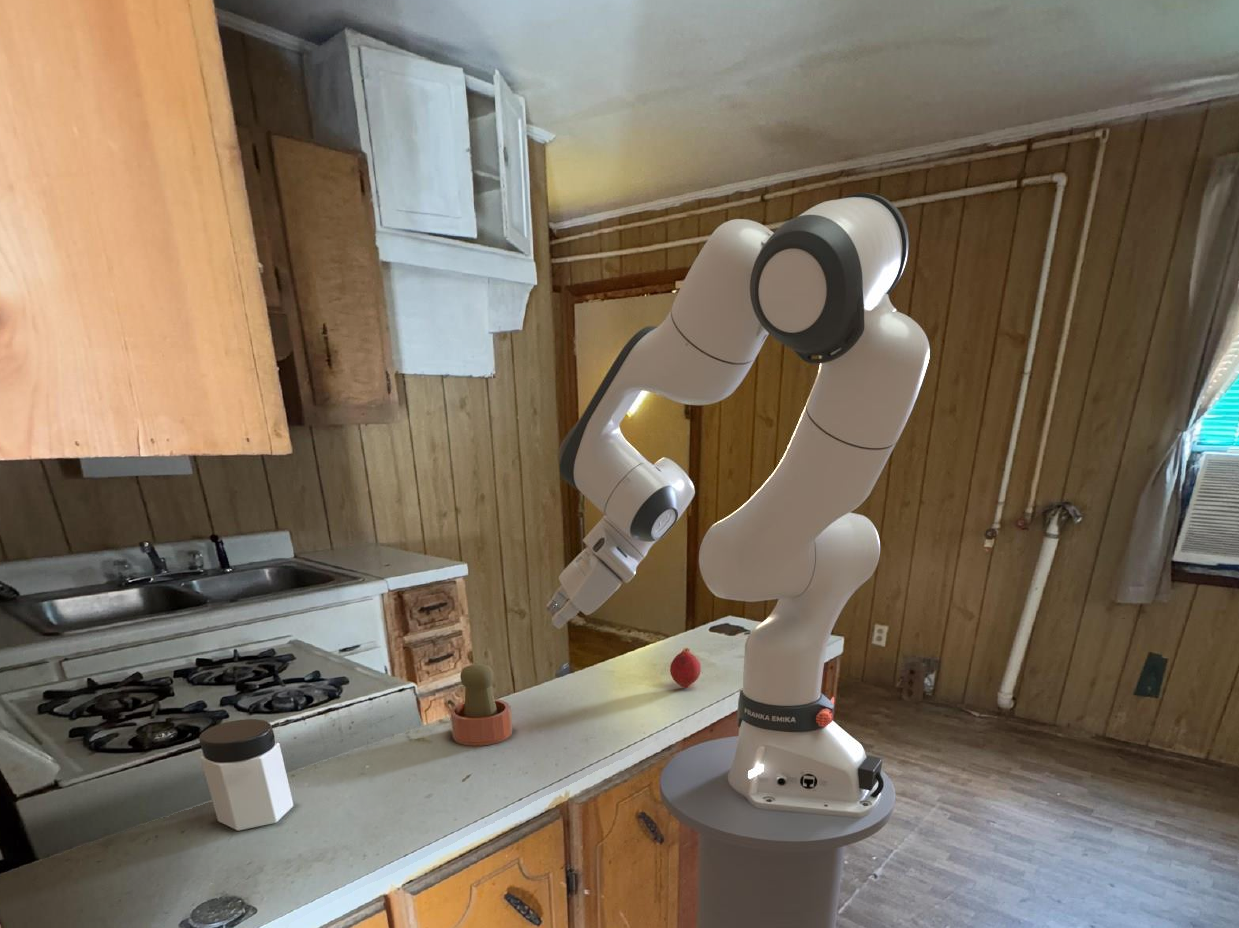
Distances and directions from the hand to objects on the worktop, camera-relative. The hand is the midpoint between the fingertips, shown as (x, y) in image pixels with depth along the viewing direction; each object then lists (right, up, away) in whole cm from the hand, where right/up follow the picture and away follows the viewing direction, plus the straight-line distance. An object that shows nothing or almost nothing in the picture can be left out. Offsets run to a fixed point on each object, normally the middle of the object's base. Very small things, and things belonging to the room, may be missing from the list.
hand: (551, 618), depth 117 cm
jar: (-36, -29, -19) cm, 50 cm away
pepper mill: (-12, -18, +5) cm, 22 cm away
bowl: (-12, -18, +5) cm, 23 cm away
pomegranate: (+22, -9, +26) cm, 35 cm away
